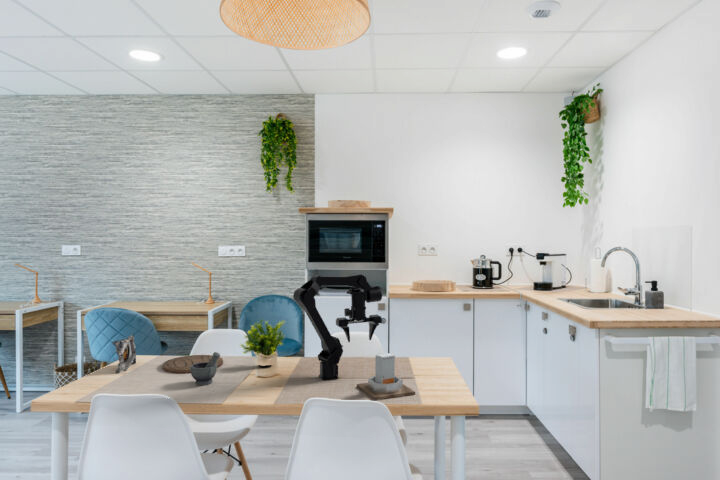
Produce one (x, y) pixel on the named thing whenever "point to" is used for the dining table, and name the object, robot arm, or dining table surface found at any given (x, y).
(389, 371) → the skincare box
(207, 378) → the mortar and pestle
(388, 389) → the steel ring
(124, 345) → the grey piece
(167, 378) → the dining table surface
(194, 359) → the trivet
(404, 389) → the walnut board
